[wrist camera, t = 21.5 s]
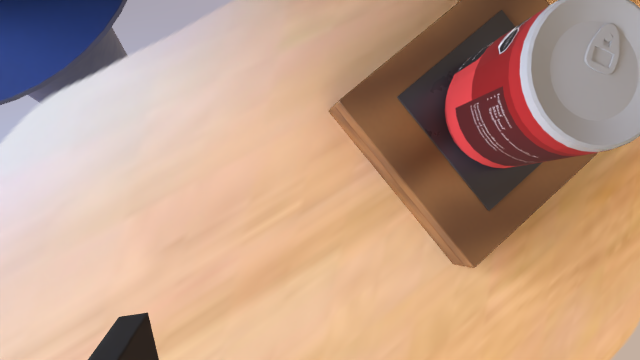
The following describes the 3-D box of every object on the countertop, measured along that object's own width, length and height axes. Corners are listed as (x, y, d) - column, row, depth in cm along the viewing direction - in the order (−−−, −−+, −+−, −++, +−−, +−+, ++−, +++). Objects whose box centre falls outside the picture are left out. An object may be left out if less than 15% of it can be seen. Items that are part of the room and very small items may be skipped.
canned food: (551, 58, 40) (673, -1, 29) (545, 175, 40) (668, 158, 29) (444, 43, 39) (530, -24, 28) (436, 164, 38) (521, 142, 28)
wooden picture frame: (328, 110, 41) (338, 100, 38) (490, -22, 44) (514, -44, 40) (453, 264, 42) (475, 268, 38) (605, 124, 45) (639, 116, 41)
